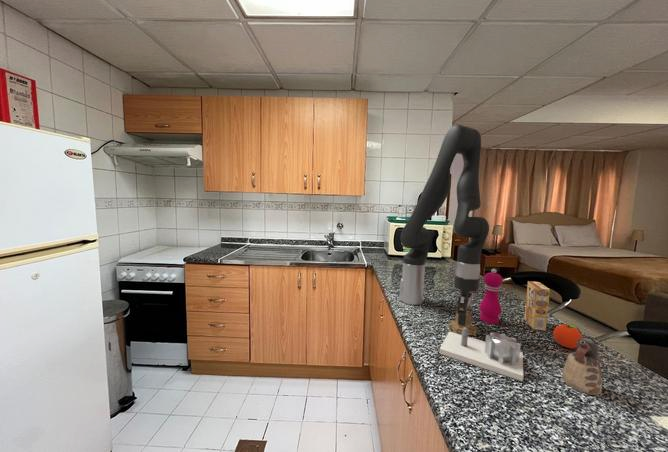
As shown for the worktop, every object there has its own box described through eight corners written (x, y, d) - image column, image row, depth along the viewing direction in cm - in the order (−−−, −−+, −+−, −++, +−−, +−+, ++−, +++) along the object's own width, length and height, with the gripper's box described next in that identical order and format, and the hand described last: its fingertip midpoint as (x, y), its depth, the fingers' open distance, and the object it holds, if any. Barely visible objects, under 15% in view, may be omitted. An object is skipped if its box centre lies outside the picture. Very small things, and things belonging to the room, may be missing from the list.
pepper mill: (503, 325, 98) (509, 272, 96) (482, 323, 99) (487, 270, 97) (495, 317, 105) (500, 267, 103) (475, 315, 106) (480, 265, 104)
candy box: (546, 331, 94) (551, 289, 93) (532, 329, 95) (537, 287, 94) (536, 321, 103) (540, 282, 101) (523, 319, 104) (527, 280, 102)
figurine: (608, 391, 64) (615, 344, 63) (589, 398, 62) (596, 349, 61) (573, 373, 71) (579, 330, 70) (555, 378, 69) (561, 334, 67)
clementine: (565, 339, 89) (568, 319, 88) (589, 351, 82) (592, 329, 81) (546, 341, 87) (549, 320, 86) (569, 353, 80) (572, 331, 80)
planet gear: (446, 330, 92) (447, 312, 92) (451, 321, 99) (452, 304, 99) (474, 338, 87) (476, 319, 87) (478, 328, 95) (479, 311, 94)
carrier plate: (439, 353, 78) (441, 330, 78) (448, 335, 89) (450, 315, 88) (522, 381, 67) (525, 354, 66) (522, 357, 78) (524, 333, 77)
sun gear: (483, 358, 74) (484, 341, 73) (486, 345, 81) (487, 329, 80) (518, 369, 69) (520, 351, 69) (518, 355, 76) (520, 338, 76)
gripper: (459, 269, 99) (455, 311, 101) (451, 277, 88) (447, 325, 89) (481, 272, 95) (478, 316, 97) (477, 282, 84) (472, 331, 85)
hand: (463, 320), depth 93 cm, fingers open, 8 cm apart
